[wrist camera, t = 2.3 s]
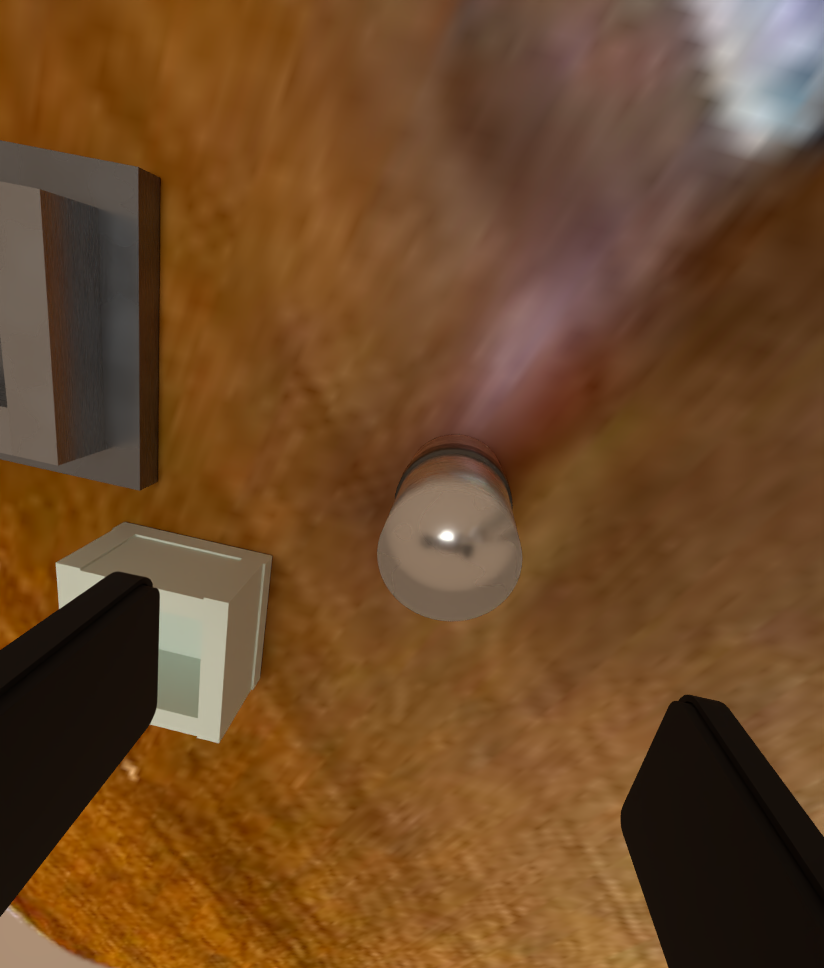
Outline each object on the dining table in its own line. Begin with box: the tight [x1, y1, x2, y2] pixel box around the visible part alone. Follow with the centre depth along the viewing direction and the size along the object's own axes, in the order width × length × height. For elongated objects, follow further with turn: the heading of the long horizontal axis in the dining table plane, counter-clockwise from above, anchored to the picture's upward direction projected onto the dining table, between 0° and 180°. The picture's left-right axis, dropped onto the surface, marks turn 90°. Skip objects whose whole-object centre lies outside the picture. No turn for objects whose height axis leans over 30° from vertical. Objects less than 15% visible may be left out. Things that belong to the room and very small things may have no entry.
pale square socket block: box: [56, 522, 272, 743], centre depth 21 cm, size 7×7×4 cm
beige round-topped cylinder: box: [377, 434, 522, 621], centre depth 16 cm, size 4×4×7 cm
